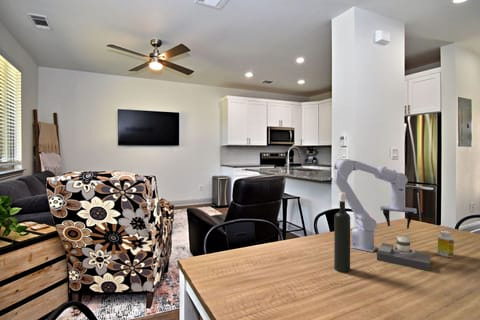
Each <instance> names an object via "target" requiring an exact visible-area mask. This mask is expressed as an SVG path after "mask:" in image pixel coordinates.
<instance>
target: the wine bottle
mask: <svg viewBox="0 0 480 320" xmlns="http://www.w3.org/2000/svg"><path fill="white" fill-rule="evenodd" d="M338 195H339V211H338V212H336V213H335V214H334V219H333V220H334V223H333V225H334V226H333V229H334V232H333V233H334V234H333V235H334V237H333V238H334V239H333V240H334V241H333V242H334V243H333V245H334V249H333V251H334V253H333V254H334V255H333V258H334V260H333V261H334V262H333V263H334V264H333V265H334V266H333V267H334V268H333V269H334V270H335V271H337V272H339V273H350V272H351V215H350V214H349V213H348V212H346V199H345V192H341V191H340V192H339V194H338Z"/></svg>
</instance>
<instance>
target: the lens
mask: <svg viewBox="0 0 480 320" xmlns="http://www.w3.org/2000/svg"><path fill="white" fill-rule="evenodd" d="M396 247H397V251H400V252H405V253H410V249H411V237H410V236H408V235H402V234H401V235H400V234H399V235H397V236H396Z"/></svg>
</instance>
